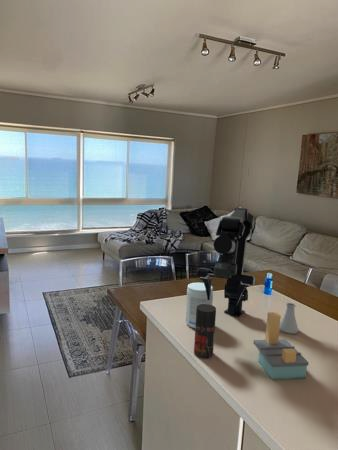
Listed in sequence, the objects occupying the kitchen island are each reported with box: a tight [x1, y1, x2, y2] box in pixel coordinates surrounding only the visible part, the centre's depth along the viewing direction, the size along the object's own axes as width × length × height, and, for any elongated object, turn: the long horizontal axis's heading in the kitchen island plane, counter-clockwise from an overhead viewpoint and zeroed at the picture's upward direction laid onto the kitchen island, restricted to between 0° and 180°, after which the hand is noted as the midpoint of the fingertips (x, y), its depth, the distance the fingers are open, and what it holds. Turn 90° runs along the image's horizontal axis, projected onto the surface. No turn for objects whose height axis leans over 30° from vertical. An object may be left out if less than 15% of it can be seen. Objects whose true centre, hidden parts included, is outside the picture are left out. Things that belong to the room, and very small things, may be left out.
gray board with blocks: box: [252, 311, 309, 367], centre depth 96 cm, size 13×11×10 cm
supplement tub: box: [185, 282, 214, 329], centre depth 122 cm, size 10×10×15 cm
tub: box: [257, 350, 308, 381], centre depth 96 cm, size 9×10×4 cm
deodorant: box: [193, 304, 217, 360], centre depth 102 cm, size 6×6×15 cm
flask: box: [279, 302, 300, 335], centre depth 121 cm, size 7×7×10 cm
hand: (222, 302), depth 108 cm, fingers open, 9 cm apart
